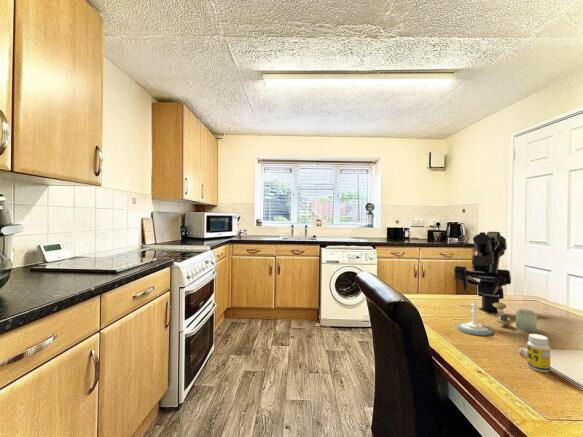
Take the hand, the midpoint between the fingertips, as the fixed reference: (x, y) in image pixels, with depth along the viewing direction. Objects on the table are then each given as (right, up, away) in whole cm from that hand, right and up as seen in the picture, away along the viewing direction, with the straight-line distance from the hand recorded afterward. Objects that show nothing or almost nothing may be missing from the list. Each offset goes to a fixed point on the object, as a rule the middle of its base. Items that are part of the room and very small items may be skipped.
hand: (478, 292), depth 117 cm
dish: (-6, -12, -7) cm, 15 cm away
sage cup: (+14, -12, -5) cm, 20 cm away
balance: (+11, -12, +4) cm, 17 cm away
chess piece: (-5, -11, -6) cm, 14 cm away
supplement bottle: (-6, -12, -36) cm, 38 cm away
